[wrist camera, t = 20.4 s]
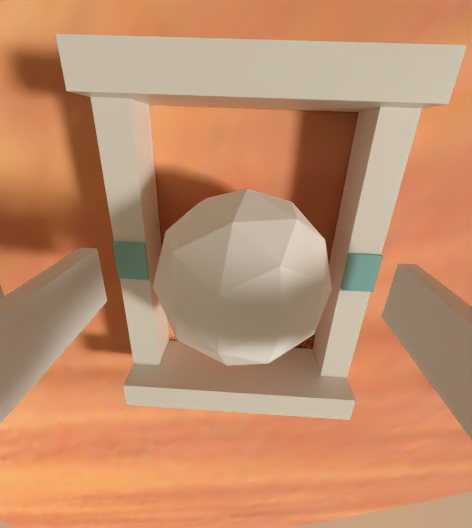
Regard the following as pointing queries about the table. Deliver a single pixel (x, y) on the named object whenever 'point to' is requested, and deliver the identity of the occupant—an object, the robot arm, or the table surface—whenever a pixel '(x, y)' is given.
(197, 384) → the frame
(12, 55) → the table surface
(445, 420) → the table surface
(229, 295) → the geometric ball
